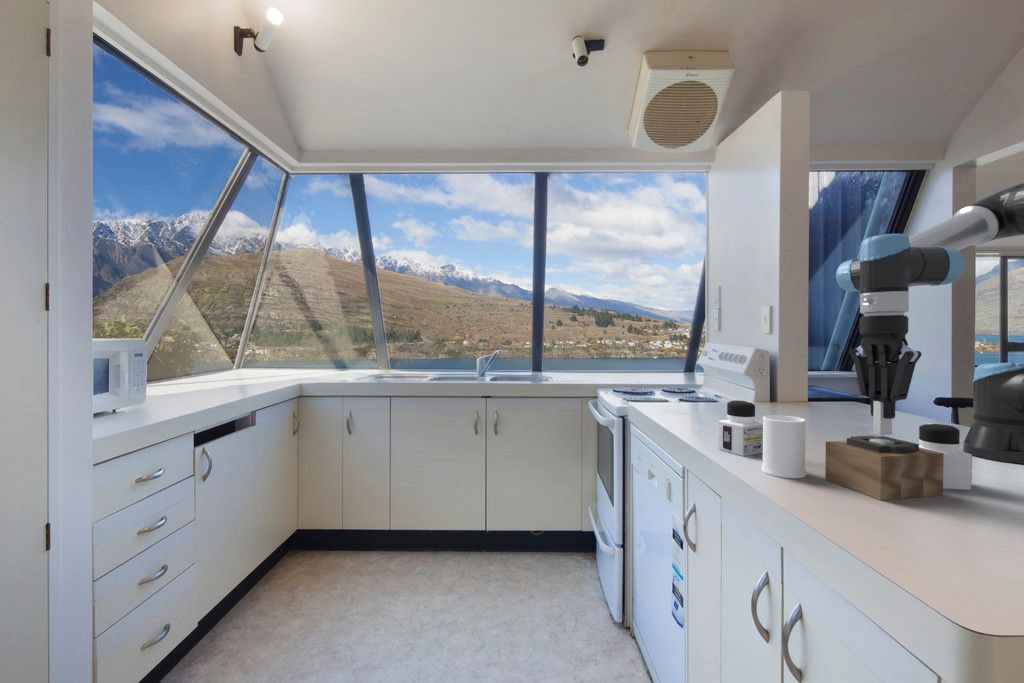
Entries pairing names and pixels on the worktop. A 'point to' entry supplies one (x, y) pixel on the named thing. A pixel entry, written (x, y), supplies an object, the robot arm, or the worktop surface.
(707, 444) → the worktop surface
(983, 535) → the worktop surface
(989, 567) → the worktop surface
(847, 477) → the socket block
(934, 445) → the medicine bottle
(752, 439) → the container
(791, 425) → the mug
